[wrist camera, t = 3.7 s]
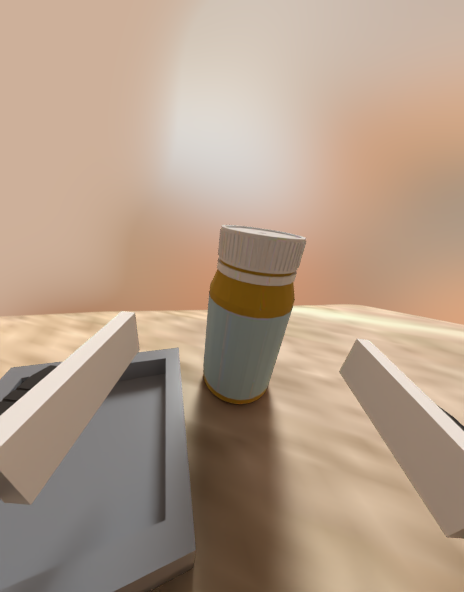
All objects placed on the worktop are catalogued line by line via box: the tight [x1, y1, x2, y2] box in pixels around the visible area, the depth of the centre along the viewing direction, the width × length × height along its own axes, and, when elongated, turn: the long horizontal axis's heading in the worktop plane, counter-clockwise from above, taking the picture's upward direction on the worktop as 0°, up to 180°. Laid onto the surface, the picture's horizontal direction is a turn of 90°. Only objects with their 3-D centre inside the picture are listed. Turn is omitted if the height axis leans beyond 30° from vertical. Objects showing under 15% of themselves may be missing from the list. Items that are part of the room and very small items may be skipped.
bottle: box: [203, 225, 306, 404], centre depth 16 cm, size 7×7×15 cm
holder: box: [0, 348, 196, 592], centre depth 11 cm, size 12×12×3 cm
